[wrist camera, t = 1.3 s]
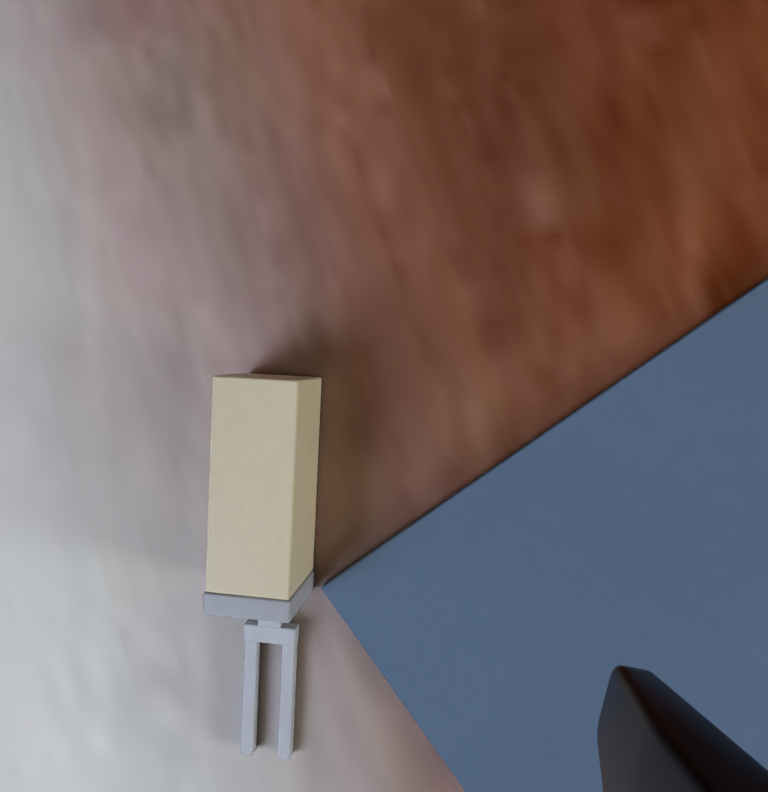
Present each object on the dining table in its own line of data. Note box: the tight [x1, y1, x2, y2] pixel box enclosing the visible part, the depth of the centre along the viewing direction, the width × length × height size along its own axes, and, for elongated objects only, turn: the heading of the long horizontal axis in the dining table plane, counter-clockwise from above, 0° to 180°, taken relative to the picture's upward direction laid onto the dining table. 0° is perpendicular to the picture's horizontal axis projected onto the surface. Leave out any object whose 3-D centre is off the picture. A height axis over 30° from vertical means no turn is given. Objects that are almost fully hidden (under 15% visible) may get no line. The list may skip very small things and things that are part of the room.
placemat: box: [322, 278, 768, 792], centre depth 21 cm, size 20×16×1 cm
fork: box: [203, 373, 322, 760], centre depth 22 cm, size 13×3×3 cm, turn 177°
